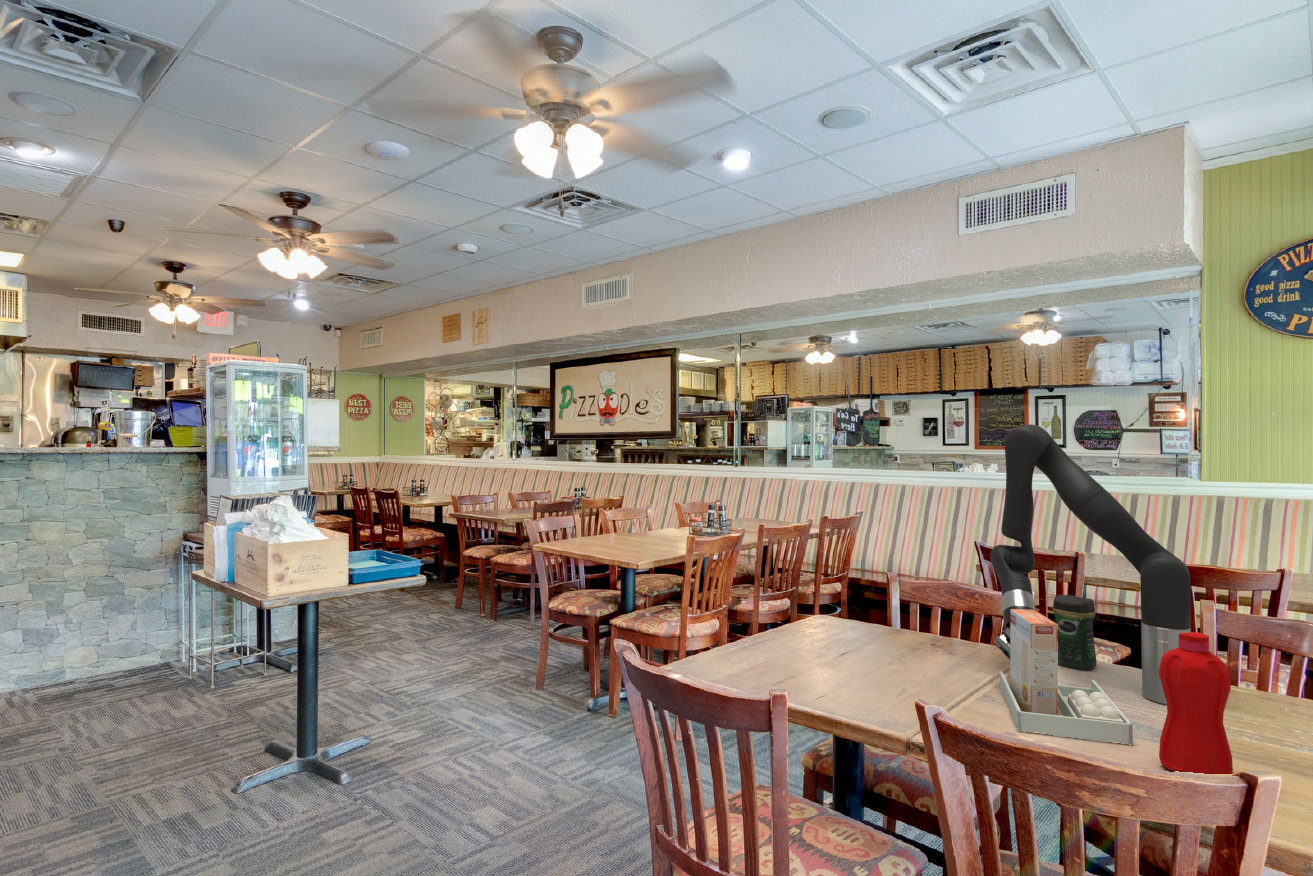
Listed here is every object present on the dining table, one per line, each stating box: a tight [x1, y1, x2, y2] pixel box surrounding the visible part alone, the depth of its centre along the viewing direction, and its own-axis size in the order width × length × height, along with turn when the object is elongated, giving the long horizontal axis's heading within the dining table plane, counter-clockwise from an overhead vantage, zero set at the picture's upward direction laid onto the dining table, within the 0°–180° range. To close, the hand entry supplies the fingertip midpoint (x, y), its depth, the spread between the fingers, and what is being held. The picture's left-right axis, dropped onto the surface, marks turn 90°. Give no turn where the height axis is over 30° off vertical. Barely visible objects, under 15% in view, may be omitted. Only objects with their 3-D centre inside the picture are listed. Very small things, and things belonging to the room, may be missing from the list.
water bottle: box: [1158, 631, 1234, 774], centre depth 125 cm, size 9×11×25 cm
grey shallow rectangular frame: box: [998, 670, 1134, 746], centre depth 152 cm, size 20×28×4 cm
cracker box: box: [1010, 609, 1059, 716], centre depth 154 cm, size 14×6×21 cm, turn 169°
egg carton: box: [1067, 690, 1124, 723], centre depth 144 cm, size 7×14×6 cm, turn 160°
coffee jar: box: [1052, 594, 1097, 671], centre depth 186 cm, size 10×8×19 cm
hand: (1027, 677), depth 161 cm, fingers closed
